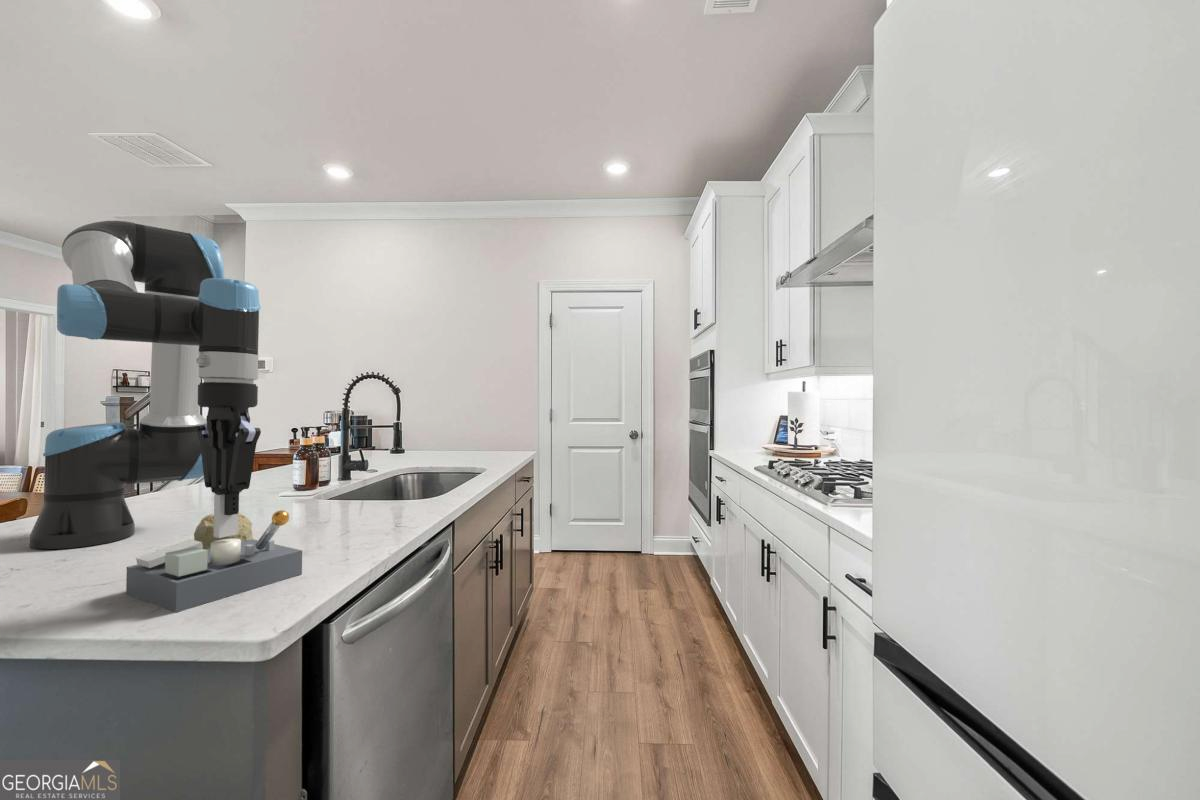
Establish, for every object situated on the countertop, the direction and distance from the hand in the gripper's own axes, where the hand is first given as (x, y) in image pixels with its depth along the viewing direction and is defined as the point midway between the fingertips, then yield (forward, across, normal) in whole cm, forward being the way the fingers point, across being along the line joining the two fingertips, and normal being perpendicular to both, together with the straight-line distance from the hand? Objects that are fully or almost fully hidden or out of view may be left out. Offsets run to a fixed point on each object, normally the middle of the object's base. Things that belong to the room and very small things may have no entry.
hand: (226, 535), depth 80 cm
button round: (+4, 0, 0) cm, 4 cm away
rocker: (+3, -7, -4) cm, 9 cm away
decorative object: (+9, -20, +10) cm, 24 cm away
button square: (+4, 0, -5) cm, 7 cm away
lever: (+3, -2, +6) cm, 7 cm away
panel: (+8, -4, +1) cm, 9 cm away
